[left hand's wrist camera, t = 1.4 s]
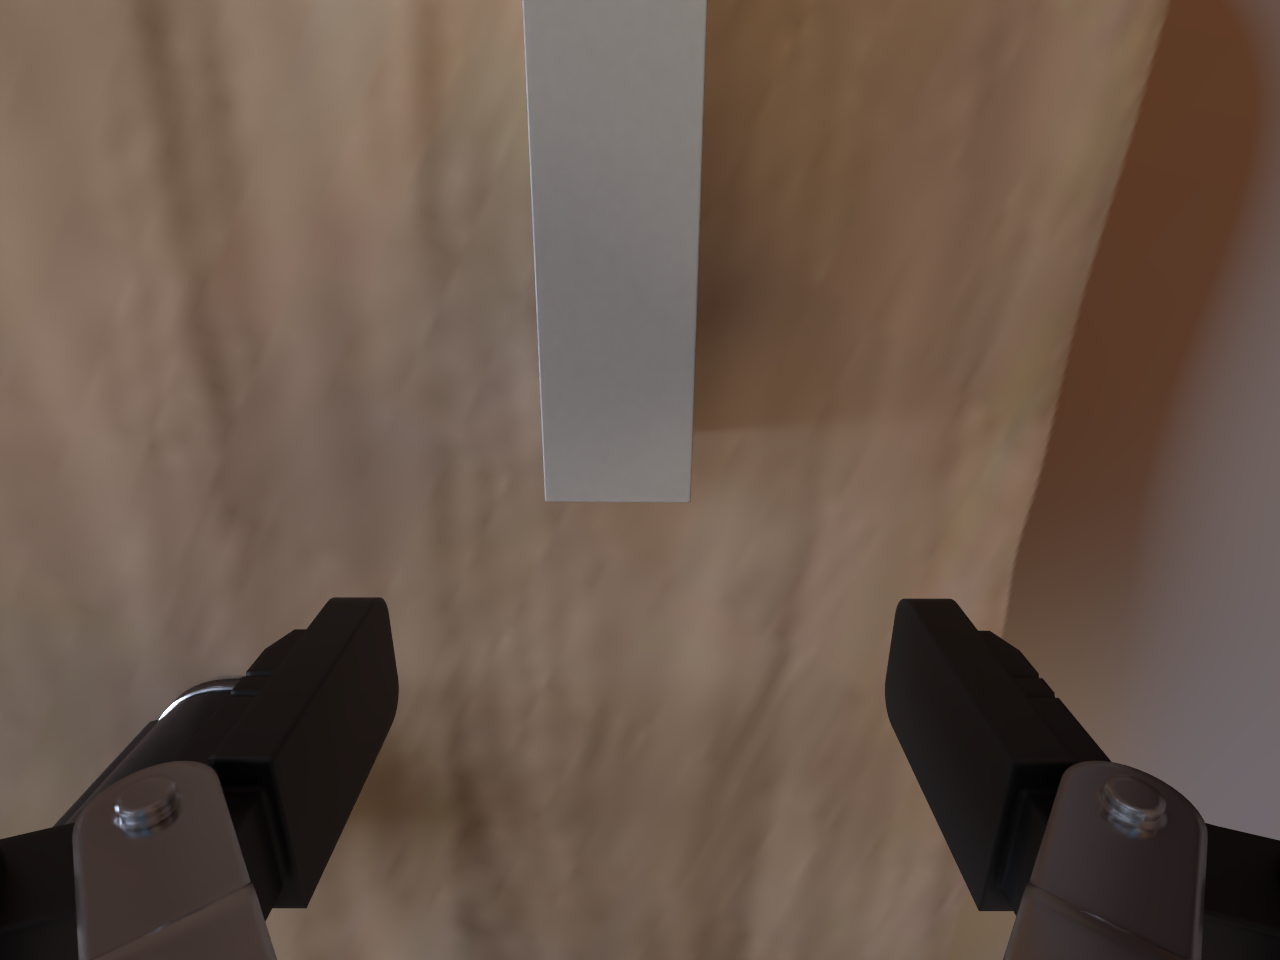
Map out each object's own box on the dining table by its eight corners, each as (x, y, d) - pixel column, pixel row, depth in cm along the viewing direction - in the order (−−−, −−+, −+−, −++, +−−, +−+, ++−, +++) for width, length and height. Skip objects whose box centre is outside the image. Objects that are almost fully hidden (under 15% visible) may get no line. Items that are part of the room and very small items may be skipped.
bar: (679, 433, 34) (690, 503, 26) (566, 432, 34) (545, 502, 26) (702, -394, 23) (729, -664, 16) (539, -395, 23) (492, -665, 16)
